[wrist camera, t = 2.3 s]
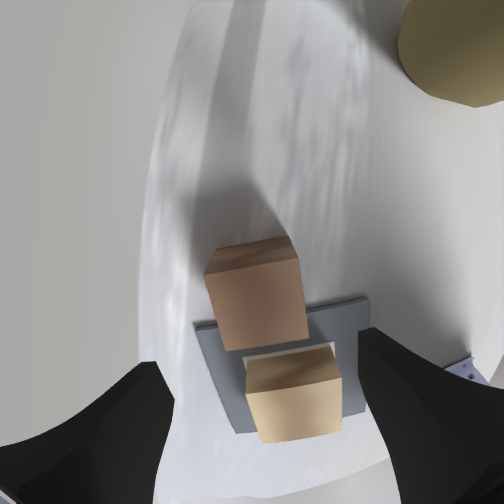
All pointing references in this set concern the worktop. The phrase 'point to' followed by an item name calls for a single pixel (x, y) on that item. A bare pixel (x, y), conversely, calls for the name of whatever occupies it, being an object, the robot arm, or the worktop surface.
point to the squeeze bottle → (455, 49)
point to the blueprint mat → (320, 335)
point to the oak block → (295, 395)
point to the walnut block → (257, 294)
